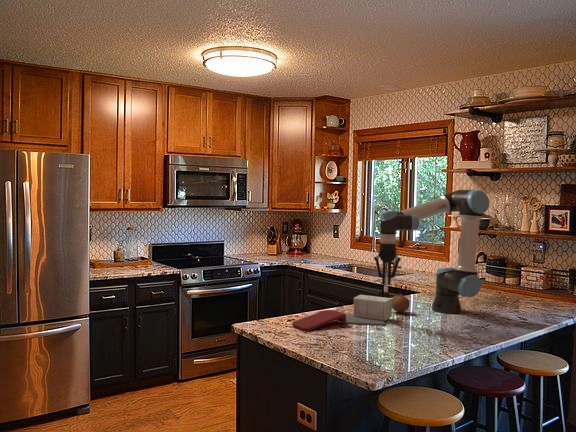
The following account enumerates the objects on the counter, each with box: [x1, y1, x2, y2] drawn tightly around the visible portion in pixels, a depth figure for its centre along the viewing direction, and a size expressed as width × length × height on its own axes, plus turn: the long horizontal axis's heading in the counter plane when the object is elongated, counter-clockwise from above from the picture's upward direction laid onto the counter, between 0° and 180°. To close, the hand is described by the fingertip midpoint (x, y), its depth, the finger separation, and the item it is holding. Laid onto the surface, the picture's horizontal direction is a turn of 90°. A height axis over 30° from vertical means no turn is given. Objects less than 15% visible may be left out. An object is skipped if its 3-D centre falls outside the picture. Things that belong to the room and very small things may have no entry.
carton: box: [291, 309, 347, 332], centre depth 241 cm, size 12×5×25 cm
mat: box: [343, 313, 386, 326], centre depth 252 cm, size 16×20×1 cm
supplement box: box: [352, 294, 393, 322], centre depth 257 cm, size 10×9×17 cm
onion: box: [391, 293, 410, 314], centre depth 270 cm, size 10×9×10 cm
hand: (385, 291), depth 251 cm, fingers closed
